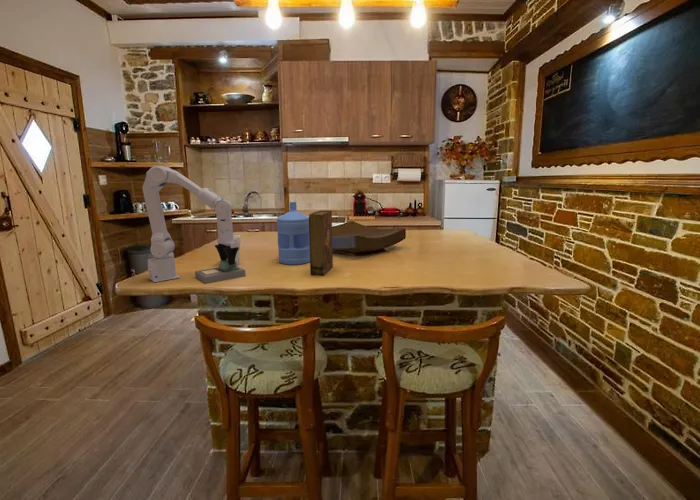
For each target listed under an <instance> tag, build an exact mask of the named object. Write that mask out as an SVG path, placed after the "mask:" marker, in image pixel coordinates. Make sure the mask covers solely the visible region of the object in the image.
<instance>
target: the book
mask: <svg viewBox="0 0 700 500" xmlns="http://www.w3.org/2000/svg"><path fill="white" fill-rule="evenodd" d="M332 215H333V213H332V210H318V211H315V212H312V213H309V214H308V217H309V241H310V262H309V266H310V268H309V270H310V275H312V276H313V275H320V276H325V275H326V274H327V273H328V272H329V271H330V270H331V269H332V268H333V267H334V263H333V216H332Z"/></svg>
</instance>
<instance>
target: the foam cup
mask: <svg viewBox="0 0 700 500" xmlns="http://www.w3.org/2000/svg"><path fill="white" fill-rule="evenodd" d="M233 239H235V240H236V242H235V243H236V247H239V249H238V251H237V254H236V258H235V261H236V263H237V266H238V265H239V264H240V252H241V241H242V240H241V235H240V234H239V235H238V234H233Z"/></svg>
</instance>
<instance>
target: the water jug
mask: <svg viewBox="0 0 700 500" xmlns="http://www.w3.org/2000/svg"><path fill="white" fill-rule="evenodd" d="M276 229H277V246H278V249H277V250H278V262H279V263H280V264H283V265H288V266H289V265H290V266H293V265H295V266H296V265H305V264H308V263H310V241H309V215H306V214H304V213H303V212H299V211H298V210H297V201H290V202H289V211H287V212H286V213H284V214H282V215H281V216H278V217H277V218H276Z"/></svg>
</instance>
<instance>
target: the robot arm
mask: <svg viewBox="0 0 700 500" xmlns="http://www.w3.org/2000/svg"><path fill="white" fill-rule="evenodd" d="M145 174H146V175H145V179H144V182H143V184H142V192H143V193H142V194H143V198H144V202H145V206H146V210H147V215H148V220H149V223H150V224H149V225H150V228H151V233H152V235H151V238H150V242H151V245H150V248H149V249H150V250H149V251H150V253H151V254H152V256H153V257H151V258H148V259H147V270H148V277H149V278H148V279H150V280H151V281H152V282H153V283H158V282H163V281H169V280H174V279H179V278H180V276H179V275H178V274H177V272H176V262H175V253H174V252H173V251H175V248H176V244H175V242H174V240H173V239H172V238H171V234H170V233H169V231H168V230H167V223H166V220H165V215H164V211H163V205H162V201H161V196H160V191H161V190H162V188H164V186H166V185H168V184H169V183H170V184H177V185H179V186H181V187H182V188H184V189H186V190H187V191H189V192H190V193H193V194H194V195H196V197H197V200H198V201H200V202H201V203H203V204H204V205H206V206H207V207H209V208H211V209H213V210H214V211H215V213H216V224H217V226H216V227H217V236H218V237H217V238H216V242H217V244H214V247H215V248H216V250H217V252H218V255H219V258H220V261H223V260H228V264H229V265H232V264H234V263H235V258H236V254H237V251H238V249H239V247H236V243H235V242H236V240H235V239H233V235H234V232H233V231H234V229H233V217H232V212H231V211H232V209H233V205H232V202H231V201H229V199H227V198H224V196H222V195H221V196H220V195H219V194H217V193H215V192H214V191H213V189H212V188H210V187H209V188H208V187H204V188H203V187H202V188H201V187H200V186H199V185H198V184H196V183H194V182H193V181H192V180H190V179H189V178H187V177H186V176H184V175H183V174H182V173H181V172H179V171H177V170H175V169H172V168H171V167H169V166H167V165H166V166H165V165H164V166H161V165H154V166H152V167H150V168H149V170H147V171H146V173H145Z"/></svg>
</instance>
